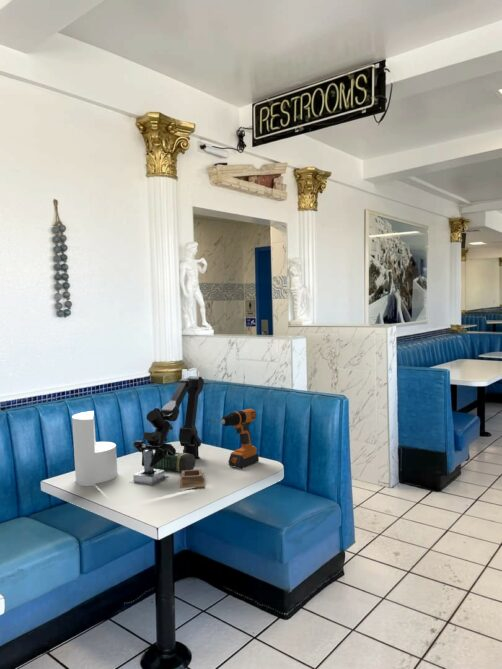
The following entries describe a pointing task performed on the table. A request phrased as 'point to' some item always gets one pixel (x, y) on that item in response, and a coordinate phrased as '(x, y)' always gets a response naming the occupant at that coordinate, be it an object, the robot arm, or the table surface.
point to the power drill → (242, 438)
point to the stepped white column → (91, 452)
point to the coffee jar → (176, 462)
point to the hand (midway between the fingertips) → (146, 466)
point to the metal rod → (148, 461)
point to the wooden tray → (192, 479)
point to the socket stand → (149, 477)
